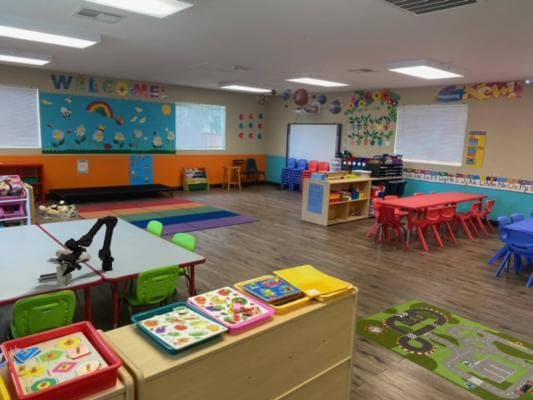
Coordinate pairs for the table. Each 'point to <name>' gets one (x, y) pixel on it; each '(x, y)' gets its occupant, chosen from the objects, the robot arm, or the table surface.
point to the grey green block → (60, 278)
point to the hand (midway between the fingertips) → (61, 275)
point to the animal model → (82, 257)
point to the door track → (50, 277)
